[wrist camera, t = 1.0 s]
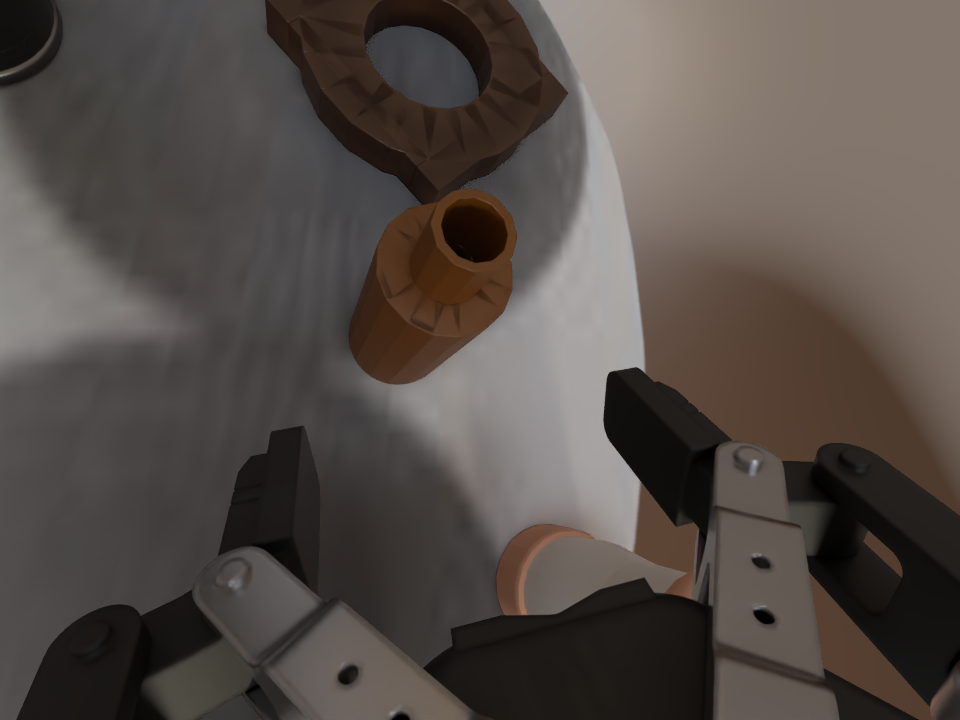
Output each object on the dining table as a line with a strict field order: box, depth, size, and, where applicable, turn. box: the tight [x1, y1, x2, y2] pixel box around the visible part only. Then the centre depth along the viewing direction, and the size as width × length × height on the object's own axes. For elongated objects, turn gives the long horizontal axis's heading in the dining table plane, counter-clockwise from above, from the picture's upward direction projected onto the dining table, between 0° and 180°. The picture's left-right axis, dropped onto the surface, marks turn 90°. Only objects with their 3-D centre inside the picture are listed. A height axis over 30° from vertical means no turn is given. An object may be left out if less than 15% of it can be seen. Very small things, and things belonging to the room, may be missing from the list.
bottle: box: [349, 189, 517, 384], centre depth 28 cm, size 6×6×17 cm
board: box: [265, 0, 568, 205], centre depth 39 cm, size 18×18×3 cm
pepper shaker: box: [496, 524, 694, 615], centre depth 26 cm, size 7×7×19 cm
